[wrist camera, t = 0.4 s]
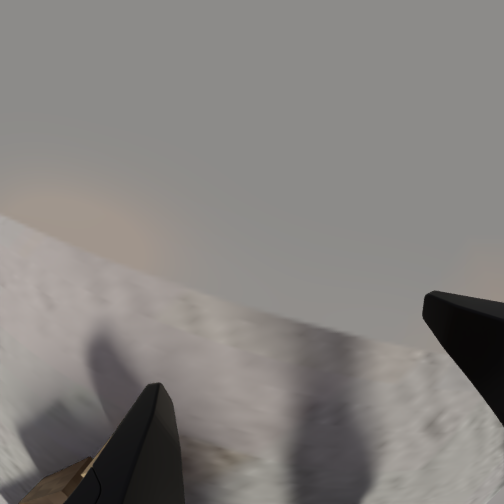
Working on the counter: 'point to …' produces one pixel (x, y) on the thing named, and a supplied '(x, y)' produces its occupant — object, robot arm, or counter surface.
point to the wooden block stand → (57, 485)
